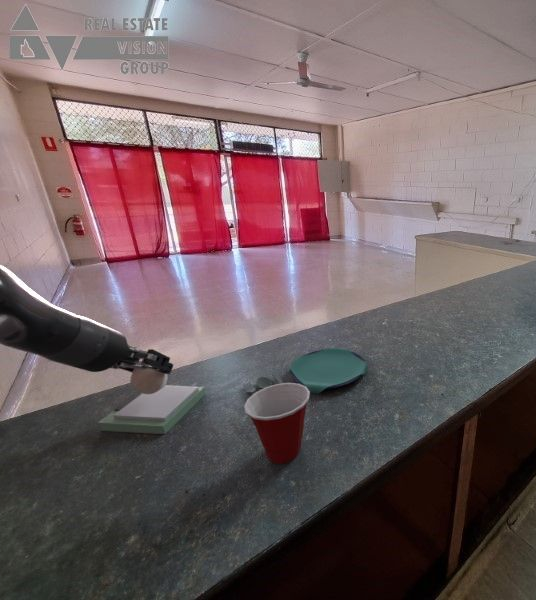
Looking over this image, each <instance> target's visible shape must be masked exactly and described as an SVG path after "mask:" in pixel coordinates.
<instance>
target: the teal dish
mask: <svg viewBox="0 0 536 600" xmlns="http://www.w3.org/2000/svg"><path fill="white" fill-rule="evenodd" d="M288 369H289V375H290V378H291V379H292V380H293V381H294V382H295V383H297V384H301V385H303V386H305V387H307V389H308V390H309V391H310V394H311V393H312V394H315V395H319V394H321V393H322V392H323V391H324V390H330V389H338V388H341V387H344V386H347V385H350V384H352V383H353V382H355V381H358V380H359V379H360V378H361V377H362V376H363V375H366V373H367V371H368V369H369V365H368V363H367V362H366V360H365V358H363V357H362V356H361V354H358V353H356V352H354V351H352V350H349V348H345V347H344V348H343V347H327V348H323V349H319V350H315V351H311V352H309V353H306V354H303V355H301V356H298V357H297V358H296V359H294V361H293V362H292V363H291V364H290V366H289V367H288ZM271 375H272V377H273V378H274V379H275V381H276V382H277V384H282V383H284V382H283V380H282V379H281V378H280V376H279V375H278V374H276V373H271ZM255 382H256V387H258V388H260V390H262V389H264V388H266V387H269V386H272V385H273V383H272V379H270V378H269V377H268V376H267V377H266V376H260V377H258V378H257V379H256V381H255ZM242 385H243V387H244V389H245V392H246V395H248V396H250V397H251V396H252V395H253V394H254V393H256V392H258V391H257V388H256V387H254V385H253V384H252V383H251V382H250V381H248V382H245V383H243V384H242Z"/></svg>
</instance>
